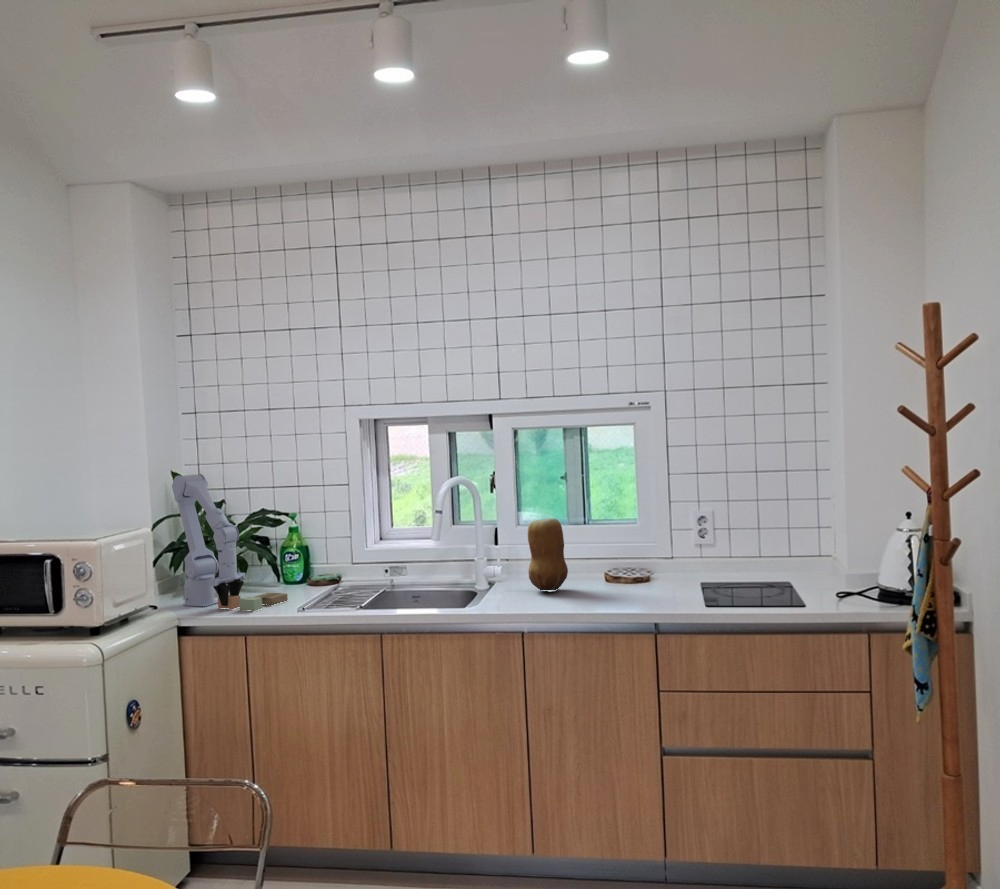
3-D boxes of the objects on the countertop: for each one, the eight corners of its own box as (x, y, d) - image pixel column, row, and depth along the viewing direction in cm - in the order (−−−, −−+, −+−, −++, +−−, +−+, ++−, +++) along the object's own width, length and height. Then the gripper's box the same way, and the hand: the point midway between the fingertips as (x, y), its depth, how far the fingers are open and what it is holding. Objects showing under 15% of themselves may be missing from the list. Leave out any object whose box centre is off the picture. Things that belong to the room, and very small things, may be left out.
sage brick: (239, 611, 309) (239, 599, 309) (248, 608, 313) (247, 596, 313) (254, 612, 307) (253, 600, 306) (262, 609, 310) (262, 597, 310)
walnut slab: (253, 605, 319) (252, 596, 319) (268, 601, 326) (268, 592, 326) (272, 607, 315) (272, 598, 315) (287, 602, 323) (287, 593, 322)
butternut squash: (529, 588, 330) (526, 516, 329) (568, 587, 329) (565, 515, 328) (528, 596, 316) (526, 521, 315) (569, 595, 315) (567, 520, 315)
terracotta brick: (218, 609, 313) (217, 597, 313) (226, 606, 317) (226, 594, 317) (232, 610, 310) (231, 598, 310) (240, 608, 314) (240, 596, 314)
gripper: (221, 567, 305) (223, 609, 305) (251, 560, 318) (253, 600, 318) (204, 566, 308) (206, 608, 308) (235, 559, 321) (237, 599, 321)
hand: (229, 604), depth 314 cm, fingers closed on terracotta brick, 4 cm apart
